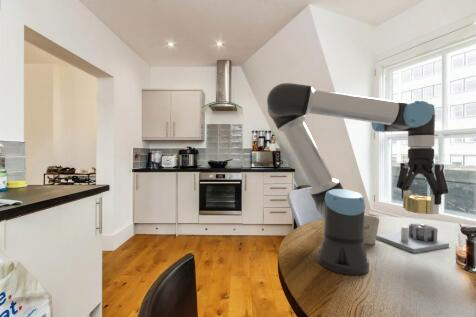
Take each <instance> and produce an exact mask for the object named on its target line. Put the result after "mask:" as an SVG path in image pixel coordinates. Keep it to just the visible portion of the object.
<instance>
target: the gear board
mask: <svg viewBox="0 0 476 317" xmlns="http://www.w3.org/2000/svg"><path fill="white" fill-rule="evenodd" d="M400 230H401V231H396V232H389V233H380V234H377V236H376V240H379V241H381V242H384V243H386V244H389V245H391V246H394V247H397V248H399V249H402V250H405V251H407V252H409V253H412V254H417V253H423V252H427V251H428V252H429V251H435V250H438V249H439V250H440V249H445V248H449V247H450V243H449V242H446V241H443V240H440V239H437V240H436V242H425V241H420V240H416V239H413V238H411V237H409V236H408V234H409V226H401V229H400Z"/></svg>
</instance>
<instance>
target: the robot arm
mask: <svg viewBox="0 0 476 317" xmlns="http://www.w3.org/2000/svg"><path fill="white" fill-rule="evenodd" d="M266 100H267V101H266V103H267V104H266V105H267V113H268V114H269V117H270V118H271V120H272V121H273V123H274V124H275V126H276V128H277V130H278V131H279V132H283V133H284V135H285V137H286V139H287V141H288V143H289V145H290V147H291V149H292V152H293V153H294V155H295V157H296V159H297V161H298V163H299V165H300V167H301V169H302V171H303V173H304V175H305V177H306V179H307V181H308V182H309V185H310V186H311V188H310V192H309V193H310V196H311V197H312V200H313V202H314V204H315V208H316V210H317V211H318V212H319V214H320V215H321V216H322V217H323V218H324V227H323V228H324V229H323V230H324V231H323V233H324V234H323V240H322V243H321V245H320V249H319V250H318V253H317V261H318V263H319V265H321V266H322V267H324V268H325V269H327V270H329V271H331V272H334V273H338V274H342V275H347V276H361V275H365V274H367V273H368V272H369V271H370V261H369V258H368V256H367V251H366V248H365V244H364V243H363V241H364V215H365V211H366V202H365V197H364V196H363V195H362V193H360V192H357V191H353V190H350V189H346V188H345V189H344V187H343V185H342V183H341V182H340V180H339V179H338V178H334V177H333V175H332V173H331V171H330V169H329V168H328V166H327V163H326V162H325V160H324V157H323V155H322V154H321V152H320V150H319V148H318V146H317V144H316V142H315V140H314V138H313V137H312V135H311V132H310V130H309V128H308V127H307V124H306V123H305V120H306V116H307V115H308V114H313V115H318V116H319V115H321V116H326V117H327V116H328V117H334V118H340V119H347V120H355V121H363V122H370V123H371V128H372V129H373V131H374V132H377V133H378V132H379V133H385V132H387V133H391V132H395V133H396V132H407V147H408V149H407V159H408V162H400V163H399V167H400V171H399V174H398V178H397V183H396V188H397V189H398V188H399V189H400V190H401V199H403V200H402V201H403V202H402V204H403V205H402V208H403V209H404V196H412V192H411V191H412V190H410V189H411V188H410V187H411V186H412V184H413V182H414V180H415V179H416V176H418V175H423V177H425V180H426V182H427V183H428V186H429V187H430V189H431V192H432V193H431V194H430V197H431V214H430V215H439V214H440V212H439V210H440V209H439V208H440V205H441V204H442V195H446V194H447V195H448V194H449V189H448V188H449V187H448V185H447V180H446V176H445V170H444V169H445V165H444V164H443V163H435V161H434V159H435V149H434V147H435V131H436V130H435V126H436V121H435V120H436V109H435V105H434V104H433V103H429V102H427V101H425V100H421V99H419V100H412V101H410V102H408V101H407V102H406V101H399V100H390V99H383V98H378V97H377V98H376V97H371V96H370V97H368V96H364V95H363V96H361V95H354V94H348V93H342V92H341V93H340V92H332V91H326V90H319V89H314V87H313V86H312V85H306V84H300V83H291V82H290V83H289V82H284V83H279V84H277V85H276V86H273V87H272V89H271V90H270V91H269V93H268V95H267V99H266ZM432 169H433V170H432ZM434 175H435V176H434Z"/></svg>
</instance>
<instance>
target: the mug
mask: <svg viewBox="0 0 476 317" xmlns="http://www.w3.org/2000/svg"><path fill="white" fill-rule="evenodd" d="M379 225H380V219H379V218H378V217H376V216H372V215H365V214H364V241H363V243H364V245H371V246H372V245H373V246H374V245H375V244H376V241H377V239H376V236H377V235H378V231H379Z"/></svg>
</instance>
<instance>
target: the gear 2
mask: <svg viewBox="0 0 476 317" xmlns="http://www.w3.org/2000/svg"><path fill="white" fill-rule="evenodd" d="M408 228H409V234H408V236H409V237H411V238H413V239H416V240H420V241H425V242H436V240H438V228H437V227H434V226H432V225H428V224H424V223H410V224H408Z"/></svg>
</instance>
